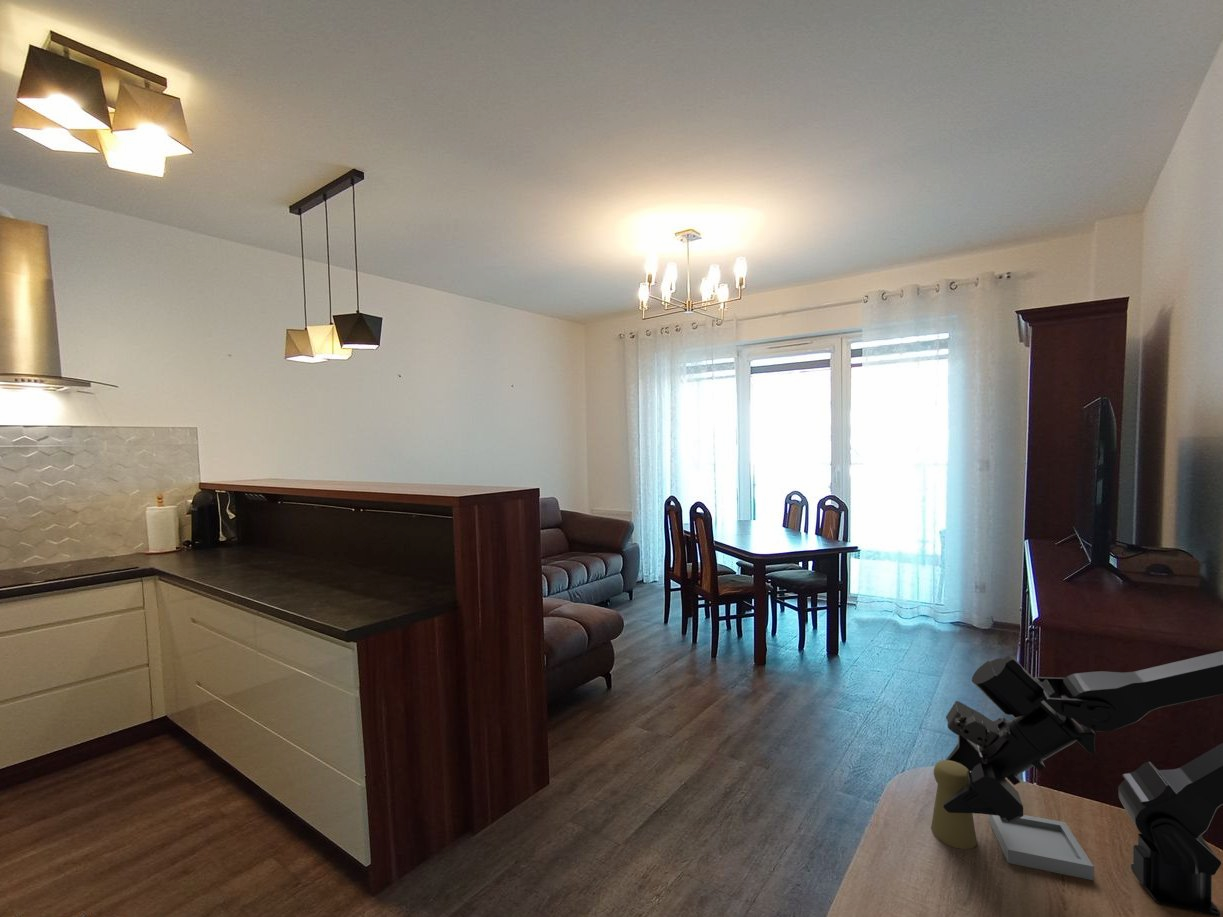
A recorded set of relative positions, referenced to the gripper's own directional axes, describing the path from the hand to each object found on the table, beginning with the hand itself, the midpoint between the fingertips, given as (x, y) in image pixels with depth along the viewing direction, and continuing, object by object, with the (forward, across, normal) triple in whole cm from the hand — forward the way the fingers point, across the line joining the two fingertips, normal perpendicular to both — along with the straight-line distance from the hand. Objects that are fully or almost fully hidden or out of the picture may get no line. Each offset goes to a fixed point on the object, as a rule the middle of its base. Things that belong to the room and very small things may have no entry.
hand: (942, 790), depth 85 cm
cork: (+4, 0, +6) cm, 7 cm away
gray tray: (-4, -2, +13) cm, 14 cm away
